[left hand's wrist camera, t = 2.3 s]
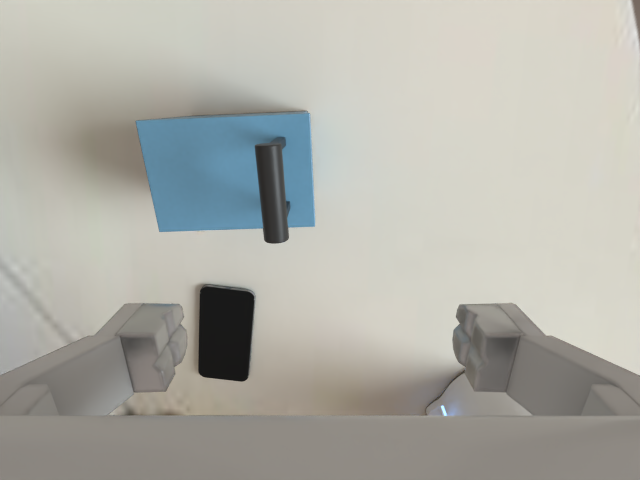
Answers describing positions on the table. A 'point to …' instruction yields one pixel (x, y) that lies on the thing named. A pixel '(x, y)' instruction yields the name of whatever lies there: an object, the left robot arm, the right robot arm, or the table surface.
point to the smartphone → (225, 332)
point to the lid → (230, 173)
